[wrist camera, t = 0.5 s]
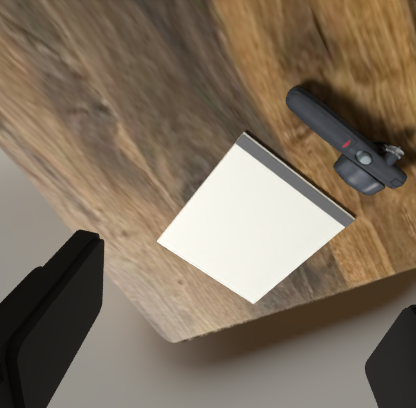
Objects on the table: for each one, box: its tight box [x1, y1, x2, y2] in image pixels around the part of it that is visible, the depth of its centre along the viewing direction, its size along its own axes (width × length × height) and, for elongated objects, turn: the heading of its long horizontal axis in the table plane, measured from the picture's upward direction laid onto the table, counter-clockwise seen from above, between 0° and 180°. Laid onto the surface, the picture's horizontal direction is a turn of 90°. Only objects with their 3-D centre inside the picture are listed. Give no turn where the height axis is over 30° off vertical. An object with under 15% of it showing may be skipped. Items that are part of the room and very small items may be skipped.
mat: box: [157, 132, 355, 304], centre depth 45 cm, size 22×20×1 cm
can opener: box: [286, 87, 407, 196], centre depth 35 cm, size 18×7×6 cm, turn 52°
